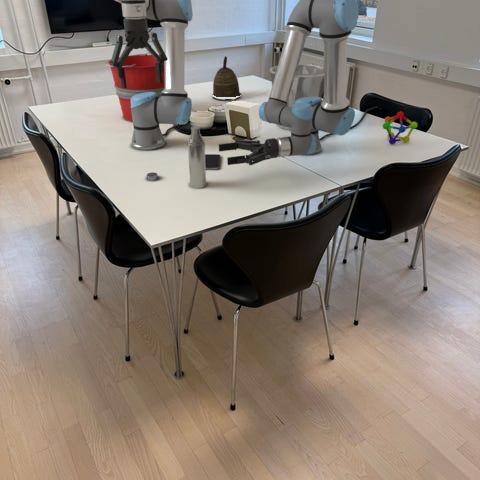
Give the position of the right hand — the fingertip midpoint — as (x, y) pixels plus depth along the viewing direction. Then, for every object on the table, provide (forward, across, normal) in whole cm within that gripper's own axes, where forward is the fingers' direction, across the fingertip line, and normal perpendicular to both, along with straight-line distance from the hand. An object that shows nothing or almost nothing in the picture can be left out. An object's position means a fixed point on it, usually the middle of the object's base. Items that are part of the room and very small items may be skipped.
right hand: (223, 154), depth 166 cm
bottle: (+10, 0, -11) cm, 15 cm away
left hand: (+26, +11, +25) cm, 37 cm away
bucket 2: (-54, +60, -14) cm, 82 cm away
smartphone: (+1, +21, -12) cm, 24 cm away
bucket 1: (+21, +97, -13) cm, 100 cm away
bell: (-32, +125, -14) cm, 130 cm away
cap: (+26, +11, -10) cm, 30 cm away
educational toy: (-90, +22, -14) cm, 93 cm away
